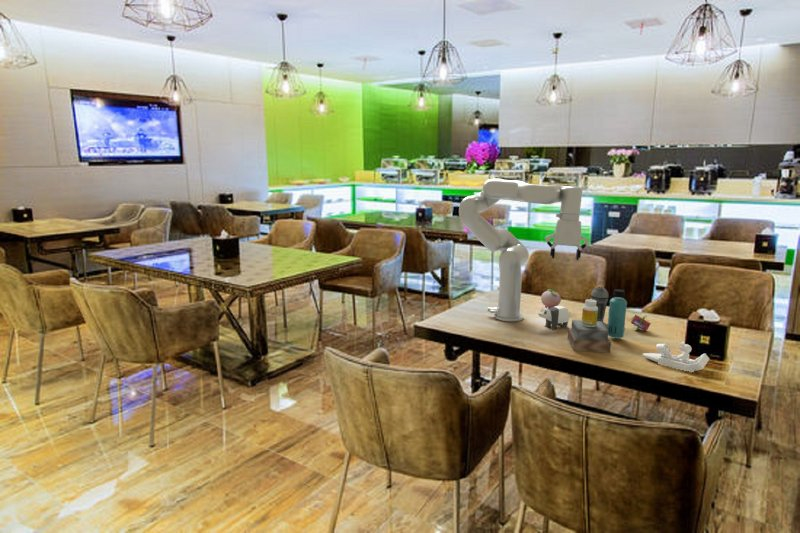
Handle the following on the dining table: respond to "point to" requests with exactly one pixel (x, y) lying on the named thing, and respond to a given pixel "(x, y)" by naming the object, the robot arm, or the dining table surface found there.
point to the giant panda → (555, 316)
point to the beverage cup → (600, 300)
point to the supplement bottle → (590, 313)
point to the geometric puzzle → (640, 323)
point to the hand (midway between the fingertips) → (564, 258)
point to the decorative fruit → (550, 298)
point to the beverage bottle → (617, 315)
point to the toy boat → (678, 358)
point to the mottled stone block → (589, 337)
